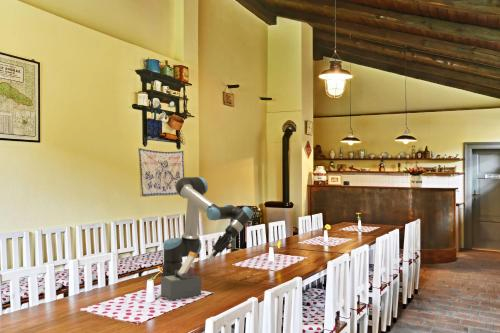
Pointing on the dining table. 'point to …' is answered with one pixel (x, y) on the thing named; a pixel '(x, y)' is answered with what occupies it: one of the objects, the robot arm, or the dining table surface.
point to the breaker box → (180, 286)
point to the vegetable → (191, 271)
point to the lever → (187, 263)
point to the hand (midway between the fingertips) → (208, 260)
